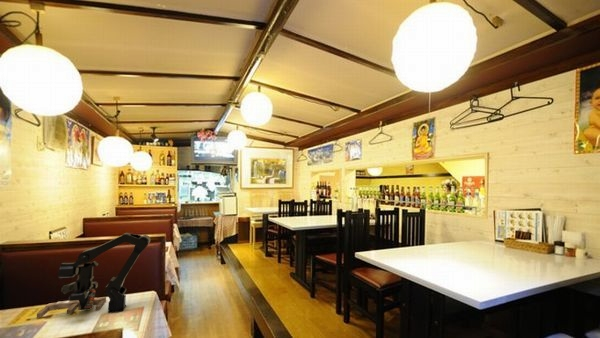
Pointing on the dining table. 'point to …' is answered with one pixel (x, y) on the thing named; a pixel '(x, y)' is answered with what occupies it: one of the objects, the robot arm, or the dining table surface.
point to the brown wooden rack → (69, 306)
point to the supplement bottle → (89, 301)
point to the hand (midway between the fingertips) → (82, 308)
